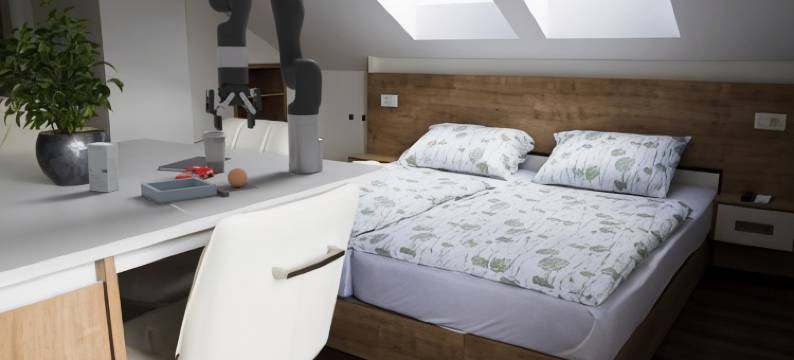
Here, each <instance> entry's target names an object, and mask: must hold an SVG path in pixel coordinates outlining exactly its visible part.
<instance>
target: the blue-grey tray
mask: <svg viewBox="0 0 794 360" xmlns="http://www.w3.org/2000/svg"><path fill="white" fill-rule="evenodd" d="M216 187H217V185H216V184H215V183H213V182H209V181H207V180H206V179H205V180H202V179H200V178H197V177H193V178H184V179H175V178H174V179H167V180H161V181H160V180H159V181H149V182H143V183H140V191H141V196H142V197H144V198H146V199H148V200H149V199H150V200H149V201H151V202H153V203H154V204H156V205H158V204H159V206H162V205H161V204H163V205H167V204H168V205H169V204H170V205H171V204H172V203H173V202H180V201H181V202H182V201H188V200H195V199H203V198H210V197H217V195H218V194H217V189H216Z"/></svg>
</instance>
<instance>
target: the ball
mask: <svg viewBox="0 0 794 360" xmlns="http://www.w3.org/2000/svg"><path fill="white" fill-rule="evenodd" d="M227 181H228V183H229V185H232V186H234V187H241V186H243V185H244V184H245V183H247V182H248V174H247V172H246V171H245V170H244V169H242V168H239V167H236V168H233V169H231V170H229V172H228V174H227Z"/></svg>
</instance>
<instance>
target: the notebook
mask: <svg viewBox="0 0 794 360" xmlns="http://www.w3.org/2000/svg"><path fill="white" fill-rule="evenodd" d="M231 159H232V157H225V161H224V164H228V163H230V162H231ZM227 162H228V163H227ZM196 166H201V167H207V161H206V156H201V155H200V156H198V155H197V156H195V157H191V158H187V159H182V160H178V161H175V162H172V163H168V164H163V165H160V166H158V171H169V172H170V171H173V172H182V171H185V170H187V169H188V168H190V167H196Z"/></svg>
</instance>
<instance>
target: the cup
mask: <svg viewBox="0 0 794 360" xmlns="http://www.w3.org/2000/svg"><path fill="white" fill-rule="evenodd" d="M225 133H226V132H225V131H223V130H222V131H218V130H208V131H204V132H203V135H201V138H203V147H204V155H205V156H204V157H206V161H207V168H212V169H213V171H214V175H215V174H222V173H225V163H224V161H225V158H226V137H228V136H227V133H226V134H225Z"/></svg>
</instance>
